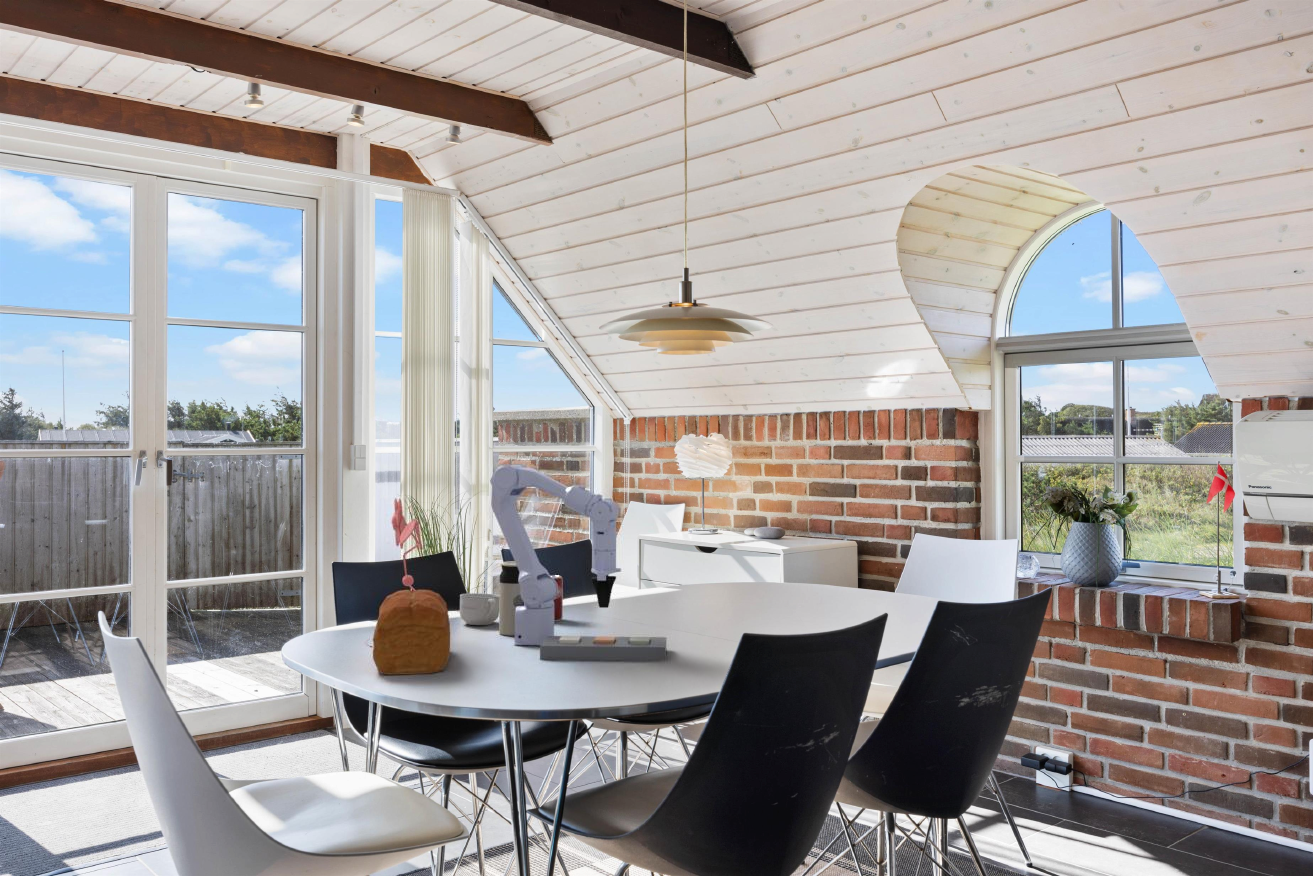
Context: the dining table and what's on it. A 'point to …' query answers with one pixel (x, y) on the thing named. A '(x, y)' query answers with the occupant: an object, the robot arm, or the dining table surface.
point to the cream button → (570, 639)
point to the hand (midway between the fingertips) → (603, 607)
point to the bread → (412, 633)
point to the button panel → (603, 649)
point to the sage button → (639, 640)
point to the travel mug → (508, 597)
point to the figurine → (404, 537)
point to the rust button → (604, 640)
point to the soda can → (558, 599)
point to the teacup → (479, 608)
